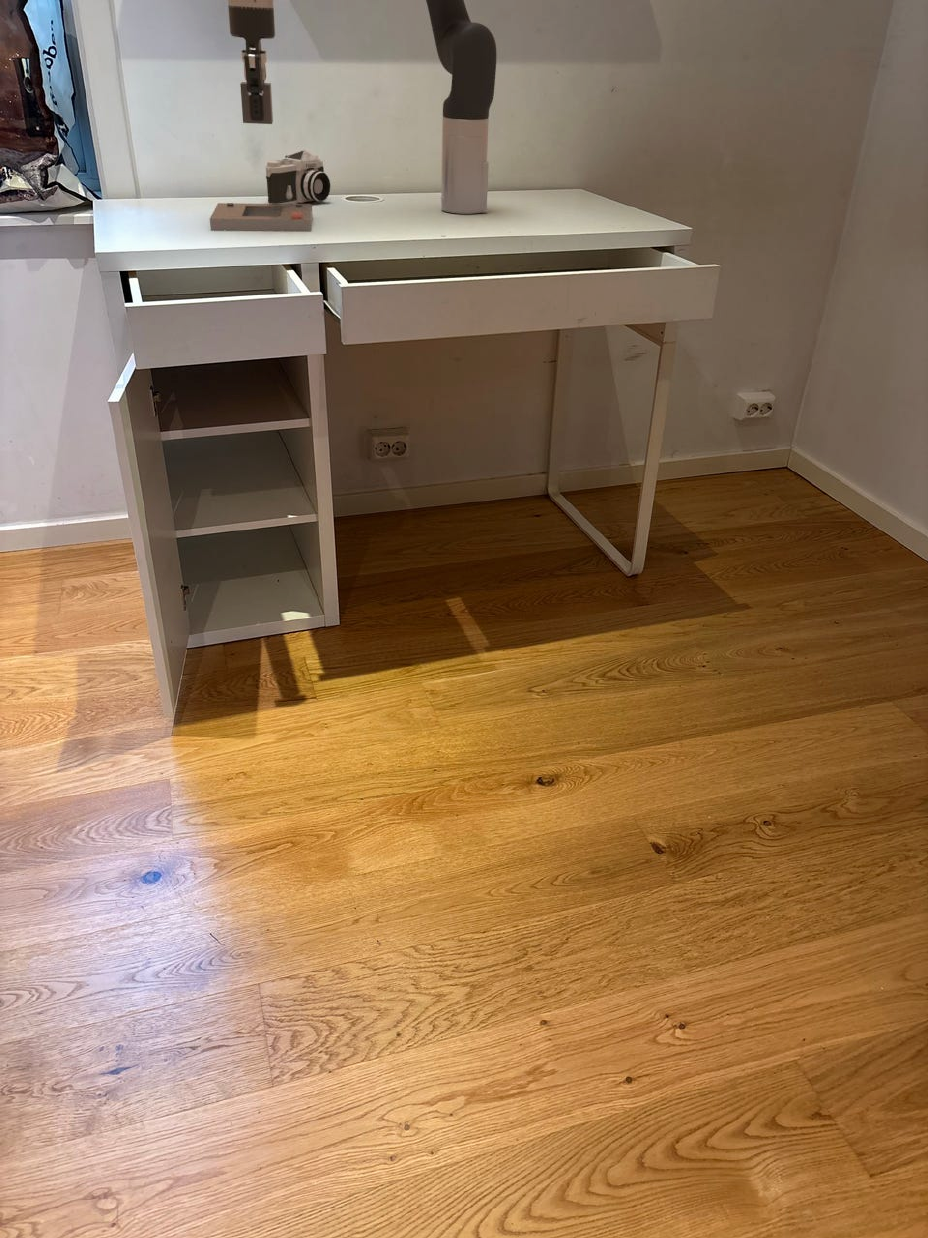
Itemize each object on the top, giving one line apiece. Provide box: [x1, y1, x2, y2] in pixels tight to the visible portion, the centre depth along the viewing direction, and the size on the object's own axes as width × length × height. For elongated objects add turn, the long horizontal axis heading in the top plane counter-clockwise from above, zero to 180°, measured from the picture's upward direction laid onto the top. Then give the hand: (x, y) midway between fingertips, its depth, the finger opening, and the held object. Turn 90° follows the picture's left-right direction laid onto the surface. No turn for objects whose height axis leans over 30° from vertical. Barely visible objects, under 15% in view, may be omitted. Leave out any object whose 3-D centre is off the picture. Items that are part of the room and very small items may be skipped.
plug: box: [239, 81, 274, 125], centre depth 165 cm, size 5×4×8 cm
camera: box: [265, 149, 331, 204], centre depth 195 cm, size 16×9×10 cm, turn 145°
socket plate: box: [209, 202, 314, 233], centre depth 176 cm, size 18×15×3 cm
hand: (258, 118), depth 167 cm, fingers closed on plug, 4 cm apart
